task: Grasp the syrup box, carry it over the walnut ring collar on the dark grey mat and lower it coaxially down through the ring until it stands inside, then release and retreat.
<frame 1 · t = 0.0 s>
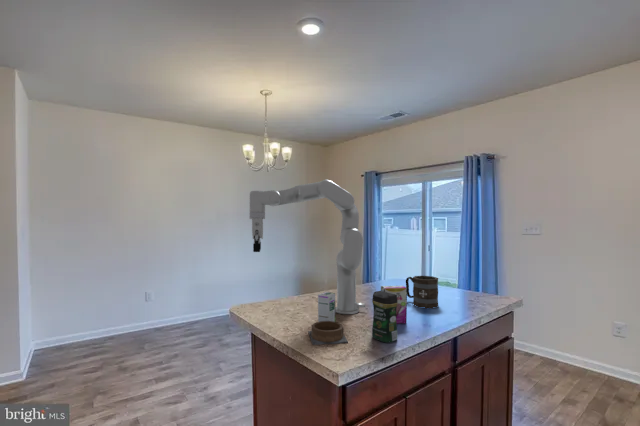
hand: (257, 250, 163), 31 cm above the worktop, fingers open, 9 cm apart
collar: (327, 337, 133), on the worktop
candy bar box: (393, 323, 151), on the worktop
coffee jar: (384, 339, 131), on the worktop
syrup box: (326, 327, 146), on the worktop
mug: (420, 304, 184), on the worktop
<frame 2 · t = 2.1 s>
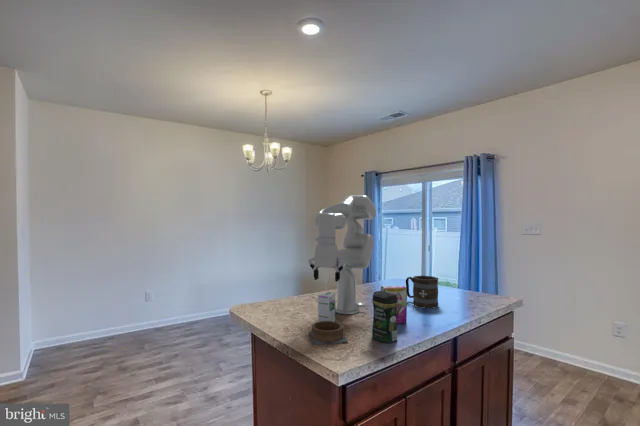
hand: (326, 280, 146), 20 cm above the worktop, fingers open, 9 cm apart
nothing on the worktop moved.
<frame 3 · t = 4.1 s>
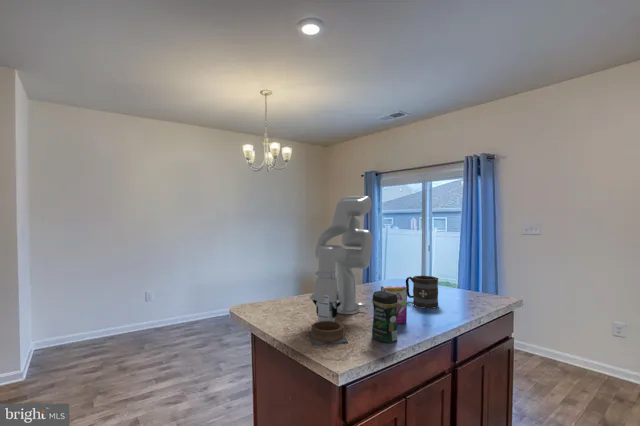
hand: (326, 315, 146), 5 cm above the worktop, fingers closed on syrup box, 6 cm apart
syrup box: (326, 327, 146), on the worktop, touching gripper
everything else where it was.
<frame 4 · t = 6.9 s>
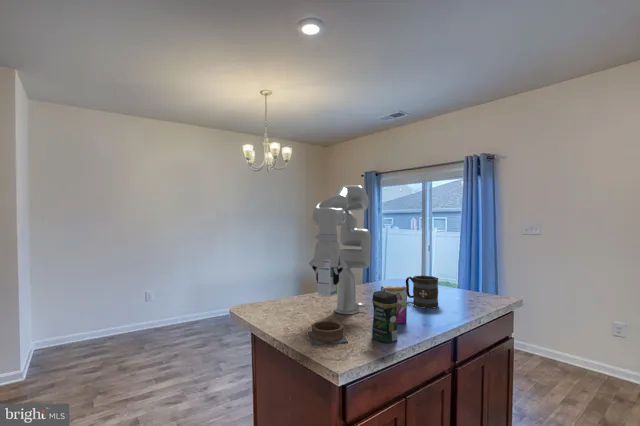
hand: (327, 282, 133), 22 cm above the worktop, fingers closed on syrup box, 6 cm apart
syrup box: (327, 295, 133), point 17 cm above the worktop, touching gripper
everything else where it was.
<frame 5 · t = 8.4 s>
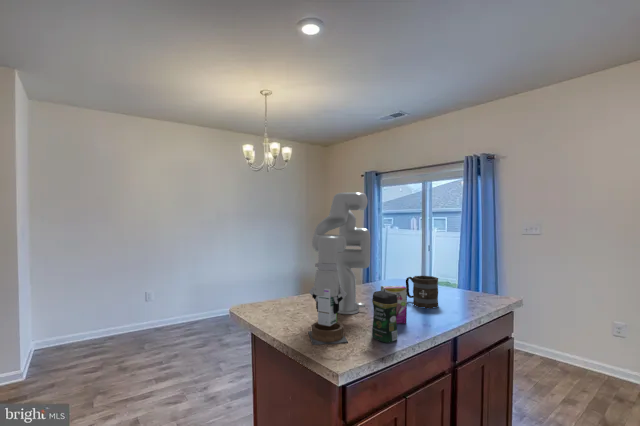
hand: (327, 311, 133), 10 cm above the worktop, fingers closed on syrup box, 6 cm apart
syrup box: (327, 323, 133), point 5 cm above the worktop, touching gripper
everything else where it was.
when the fingers open (6 cm above the worktop, at t = 9.6 s): syrup box drops 1 cm, resting on collar.
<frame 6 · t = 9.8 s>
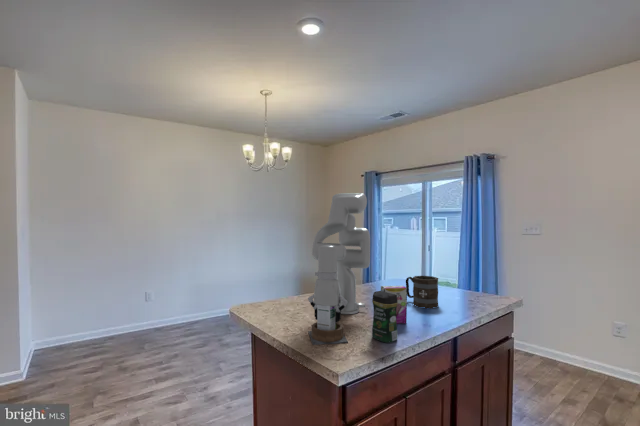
hand: (327, 319, 133), 7 cm above the worktop, fingers open, 8 cm apart
syrup box: (326, 336, 133), resting on collar
everything else where it was.
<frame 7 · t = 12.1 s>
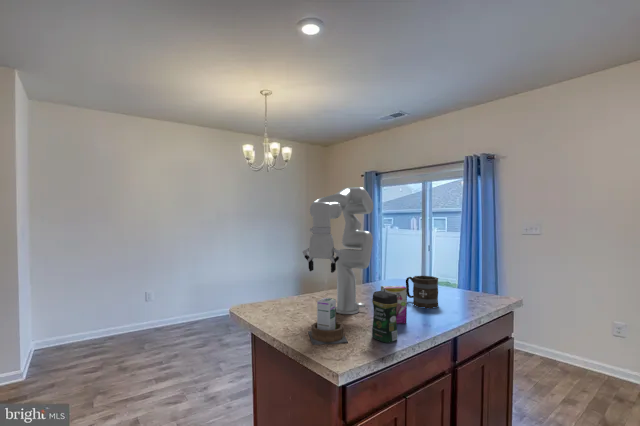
hand: (322, 271, 141), 25 cm above the worktop, fingers open, 9 cm apart
nothing on the worktop moved.
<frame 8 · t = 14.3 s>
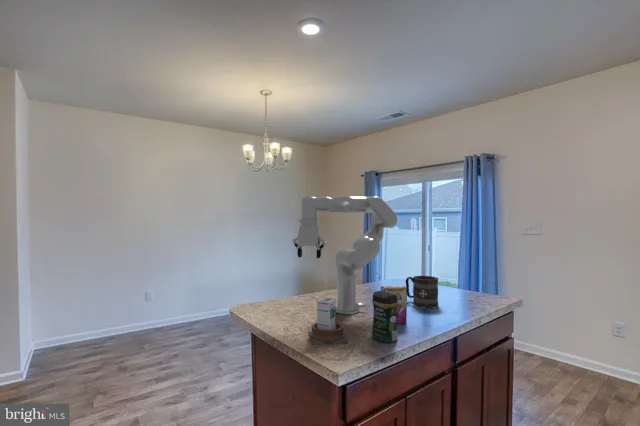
hand: (309, 257, 161), 28 cm above the worktop, fingers open, 9 cm apart
nothing on the worktop moved.
at the end: syrup box 0.4 cm from the collar (horizontally); syrup box resting on collar; syrup box tilted 0° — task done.
